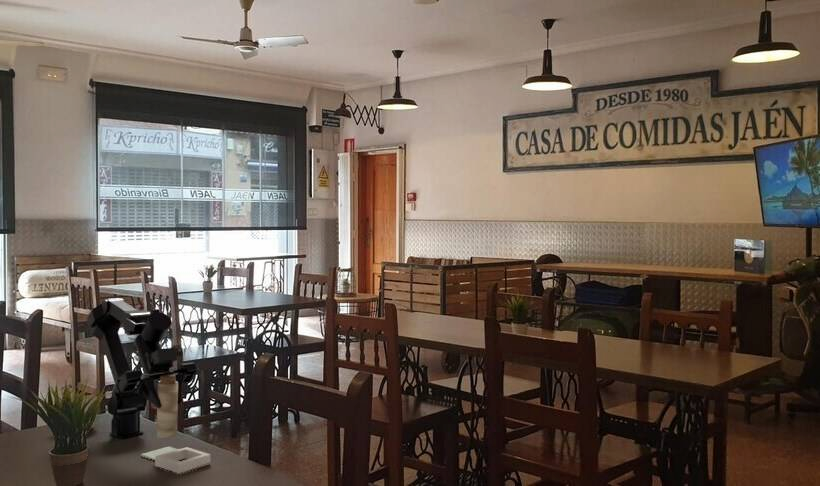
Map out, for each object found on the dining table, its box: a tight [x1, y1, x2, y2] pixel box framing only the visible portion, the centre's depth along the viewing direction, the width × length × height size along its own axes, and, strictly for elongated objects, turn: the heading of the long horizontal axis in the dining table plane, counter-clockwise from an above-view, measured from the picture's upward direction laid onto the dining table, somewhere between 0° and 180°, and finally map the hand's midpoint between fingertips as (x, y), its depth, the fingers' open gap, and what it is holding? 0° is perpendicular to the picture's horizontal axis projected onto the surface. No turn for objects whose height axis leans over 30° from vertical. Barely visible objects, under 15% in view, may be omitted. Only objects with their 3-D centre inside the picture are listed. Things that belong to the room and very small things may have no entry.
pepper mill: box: [156, 375, 179, 439], centre depth 180 cm, size 5×5×15 cm
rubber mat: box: [140, 446, 178, 461], centre depth 181 cm, size 8×8×1 cm
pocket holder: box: [154, 446, 211, 473], centre depth 174 cm, size 9×9×2 cm
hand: (170, 405), depth 179 cm, fingers closed on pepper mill, 5 cm apart
